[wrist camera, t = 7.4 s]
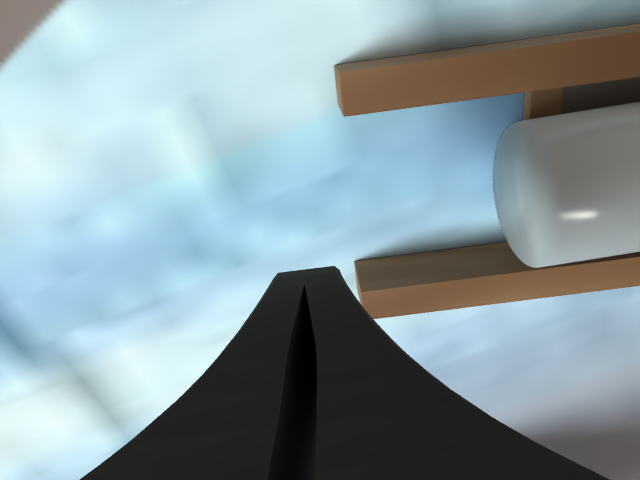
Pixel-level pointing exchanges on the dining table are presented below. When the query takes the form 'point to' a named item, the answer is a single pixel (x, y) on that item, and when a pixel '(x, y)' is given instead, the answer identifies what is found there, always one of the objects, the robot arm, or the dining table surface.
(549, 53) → the cradle
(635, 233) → the bottle
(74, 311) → the dining table surface
